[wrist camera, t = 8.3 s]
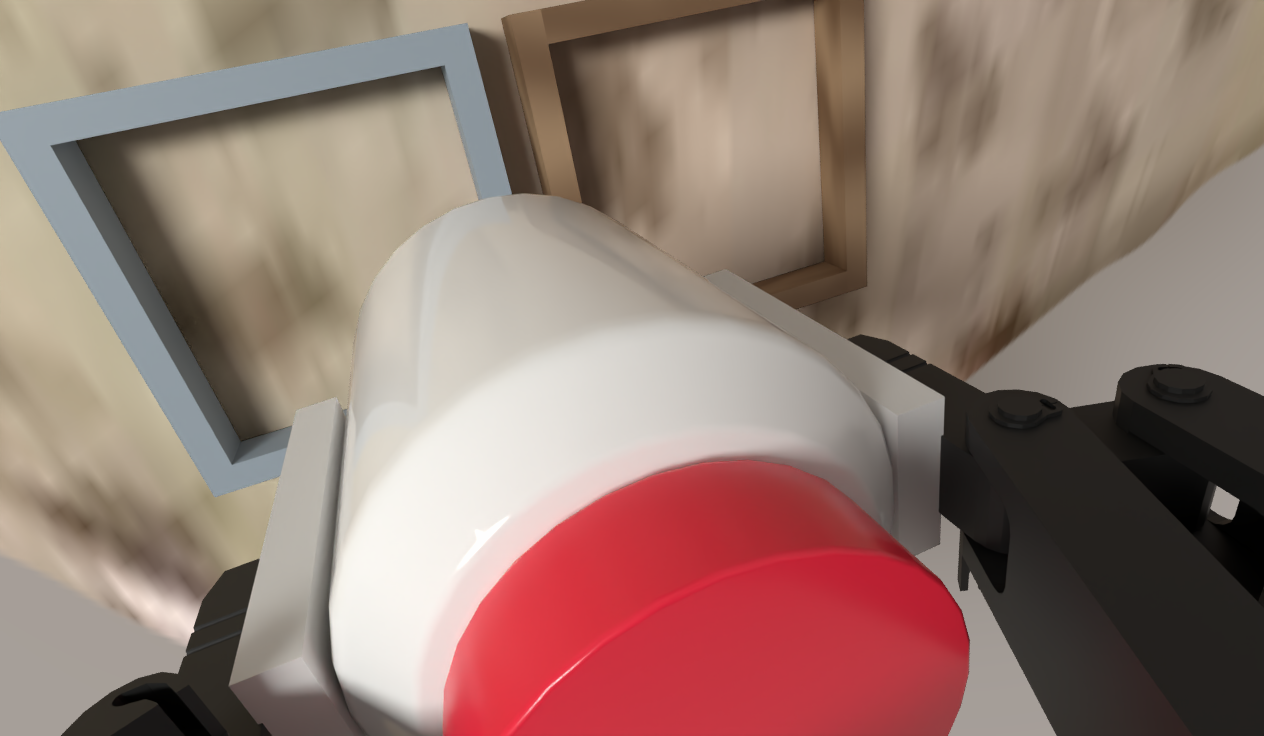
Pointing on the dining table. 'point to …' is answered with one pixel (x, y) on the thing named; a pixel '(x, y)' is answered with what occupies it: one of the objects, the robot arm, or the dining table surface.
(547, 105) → the walnut frame
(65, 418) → the dining table surface
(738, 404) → the pill bottle
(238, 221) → the dining table surface
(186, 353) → the slate frame
